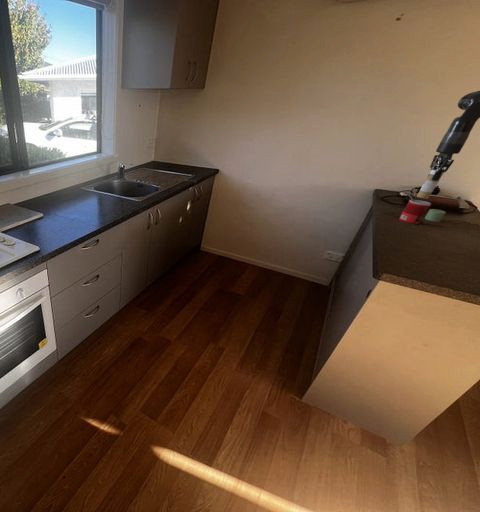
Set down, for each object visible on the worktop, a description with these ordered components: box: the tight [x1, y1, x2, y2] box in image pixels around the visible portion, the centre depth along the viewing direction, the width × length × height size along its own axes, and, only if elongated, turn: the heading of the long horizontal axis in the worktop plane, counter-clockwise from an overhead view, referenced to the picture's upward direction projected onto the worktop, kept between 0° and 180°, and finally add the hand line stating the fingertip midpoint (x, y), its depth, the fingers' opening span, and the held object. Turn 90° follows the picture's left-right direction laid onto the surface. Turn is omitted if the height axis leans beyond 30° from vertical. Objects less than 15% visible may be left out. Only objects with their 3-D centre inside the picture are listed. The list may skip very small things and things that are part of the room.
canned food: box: [398, 199, 432, 225], centre depth 149 cm, size 8×8×11 cm
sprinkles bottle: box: [416, 169, 445, 199], centre depth 142 cm, size 5×5×14 cm
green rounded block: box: [424, 208, 447, 223], centre depth 153 cm, size 6×6×5 cm
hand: (432, 178), depth 141 cm, fingers closed on sprinkles bottle, 4 cm apart
